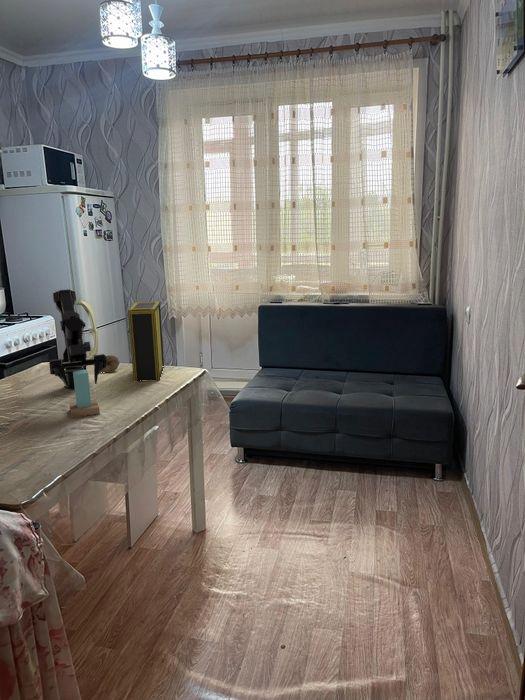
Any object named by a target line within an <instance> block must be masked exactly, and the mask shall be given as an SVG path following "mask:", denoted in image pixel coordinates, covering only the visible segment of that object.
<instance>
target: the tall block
mask: <svg viewBox="0 0 525 700" xmlns="http://www.w3.org/2000/svg"><path fill="white" fill-rule="evenodd" d="M73 378H74V387H75V389H74V395H75V403H76V405H77V407H78V408H83V407H90V406H91V400H92V399H91V398H92V397H91V389H90V379H89V372H88V369H87V368H86V370H78V371H73Z"/></svg>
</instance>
